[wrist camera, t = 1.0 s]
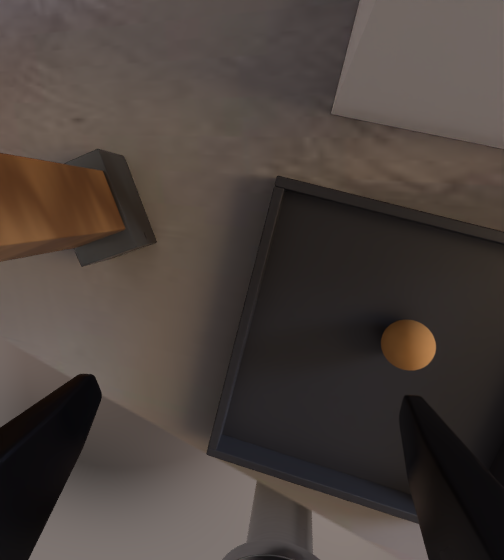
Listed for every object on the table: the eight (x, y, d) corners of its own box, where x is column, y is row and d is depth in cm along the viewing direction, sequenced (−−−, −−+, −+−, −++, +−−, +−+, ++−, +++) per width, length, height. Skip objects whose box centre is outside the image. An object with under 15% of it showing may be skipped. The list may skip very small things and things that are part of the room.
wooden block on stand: (157, 242, 24) (-72, 299, 9) (107, 259, 25) (-176, 337, 10) (124, 155, 23) (-188, 68, 8) (73, 176, 24) (-292, 131, 9)
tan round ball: (415, 362, 22) (432, 386, 20) (370, 349, 23) (380, 371, 20) (432, 320, 22) (452, 338, 19) (385, 307, 22) (397, 323, 19)
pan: (470, 515, 25) (486, 546, 22) (214, 433, 26) (205, 455, 24) (599, 258, 20) (636, 264, 18) (279, 178, 22) (277, 175, 20)
